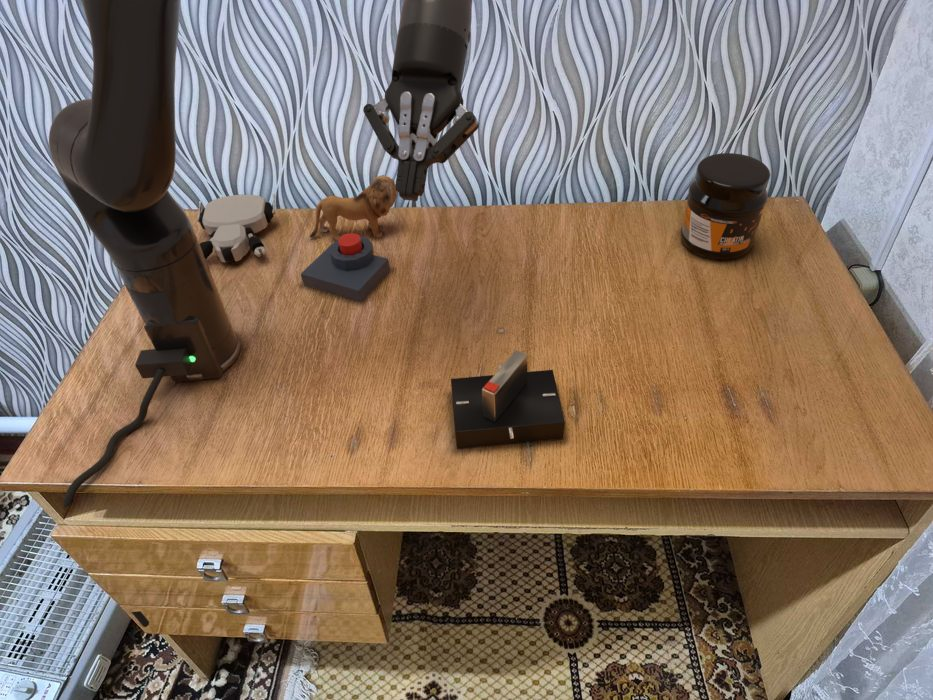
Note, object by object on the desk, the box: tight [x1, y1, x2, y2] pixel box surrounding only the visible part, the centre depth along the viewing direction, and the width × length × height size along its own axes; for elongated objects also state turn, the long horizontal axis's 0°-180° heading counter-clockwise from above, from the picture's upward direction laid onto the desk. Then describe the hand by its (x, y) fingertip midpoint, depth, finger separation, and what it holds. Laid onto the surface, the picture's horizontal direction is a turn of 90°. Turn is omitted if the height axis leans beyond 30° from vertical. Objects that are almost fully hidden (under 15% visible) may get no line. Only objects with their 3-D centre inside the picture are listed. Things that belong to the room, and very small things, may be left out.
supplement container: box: [680, 152, 771, 260], centre depth 95 cm, size 10×10×12 cm
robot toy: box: [196, 192, 277, 264], centre depth 104 cm, size 12×4×15 cm
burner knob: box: [482, 349, 529, 422], centre depth 73 cm, size 7×2×5 cm, turn 146°
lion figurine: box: [308, 174, 398, 241], centre depth 102 cm, size 15×5×9 cm, turn 103°
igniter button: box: [338, 232, 362, 256], centre depth 95 cm, size 3×3×2 cm
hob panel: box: [450, 363, 566, 450], centre depth 75 cm, size 12×11×3 cm
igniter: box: [300, 235, 391, 303], centre depth 96 cm, size 10×9×4 cm
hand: (408, 198), depth 71 cm, fingers closed
